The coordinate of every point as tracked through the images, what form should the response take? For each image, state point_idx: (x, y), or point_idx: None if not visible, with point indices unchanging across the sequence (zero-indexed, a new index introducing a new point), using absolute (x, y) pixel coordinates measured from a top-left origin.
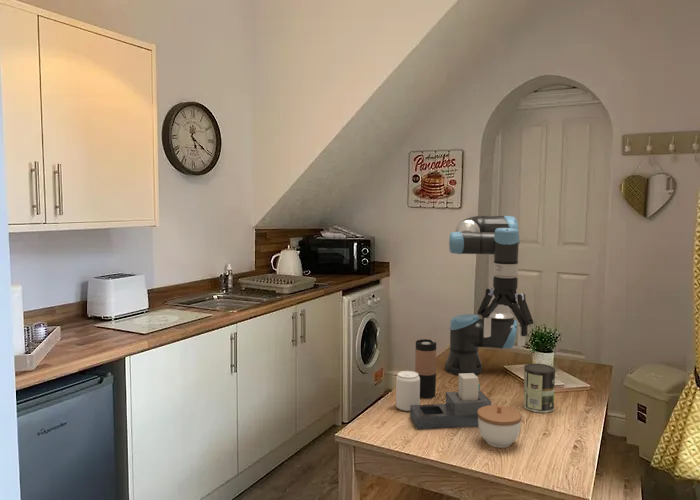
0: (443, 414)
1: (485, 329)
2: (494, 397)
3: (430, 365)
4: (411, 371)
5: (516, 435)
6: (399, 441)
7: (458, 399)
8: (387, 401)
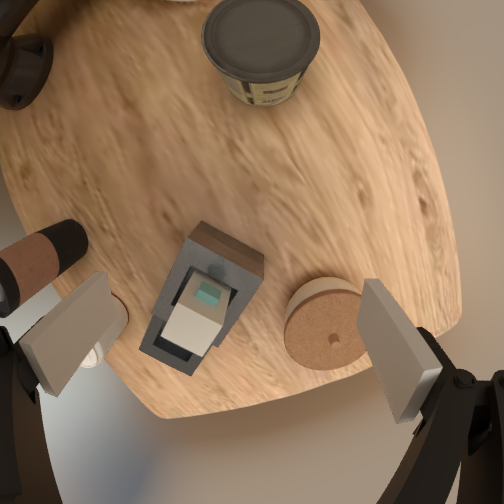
0: None
1: (93, 345)
2: (152, 111)
3: (44, 276)
4: None
5: None
6: (215, 396)
7: None
8: None
